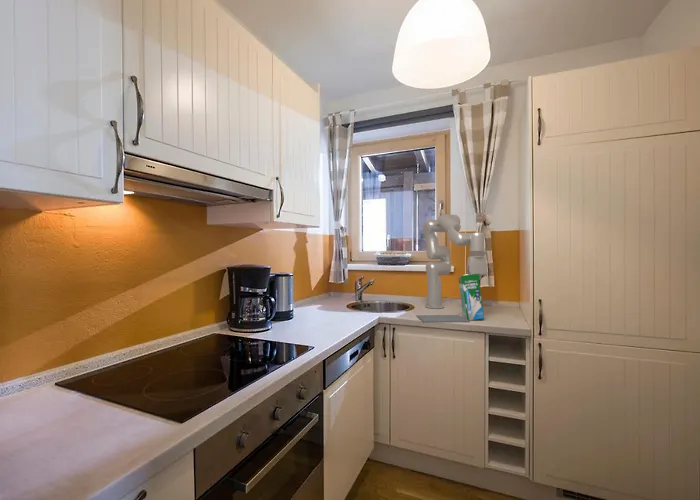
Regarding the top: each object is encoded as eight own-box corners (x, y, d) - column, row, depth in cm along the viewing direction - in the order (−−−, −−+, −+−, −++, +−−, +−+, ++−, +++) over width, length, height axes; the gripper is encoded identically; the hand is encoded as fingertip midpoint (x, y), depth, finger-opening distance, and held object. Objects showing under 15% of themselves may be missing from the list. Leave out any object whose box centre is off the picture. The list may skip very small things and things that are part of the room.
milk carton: (479, 315, 185) (473, 272, 185) (484, 318, 176) (478, 273, 176) (463, 317, 186) (457, 274, 186) (467, 320, 177) (461, 275, 177)
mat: (416, 316, 188) (416, 315, 188) (458, 316, 189) (458, 314, 189) (423, 322, 172) (423, 320, 172) (469, 322, 173) (469, 320, 173)
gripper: (487, 254, 185) (487, 286, 185) (461, 254, 185) (461, 286, 185) (493, 254, 178) (493, 287, 177) (466, 254, 177) (466, 287, 177)
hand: (477, 286), depth 181 cm, fingers closed
